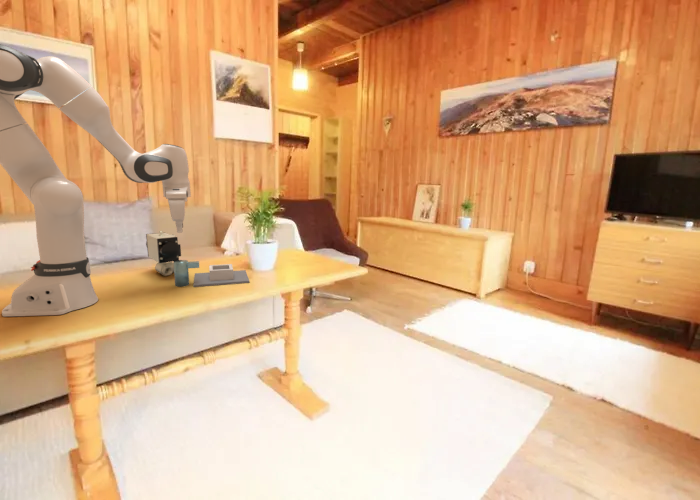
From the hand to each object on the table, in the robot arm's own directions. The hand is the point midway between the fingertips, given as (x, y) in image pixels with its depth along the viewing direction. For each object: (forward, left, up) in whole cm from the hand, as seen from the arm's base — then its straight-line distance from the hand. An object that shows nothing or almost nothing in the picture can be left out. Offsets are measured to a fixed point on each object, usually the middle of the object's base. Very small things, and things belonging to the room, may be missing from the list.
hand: (180, 230), depth 130 cm
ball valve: (-8, +16, -21) cm, 27 cm away
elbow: (+1, -1, -21) cm, 21 cm away
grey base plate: (+13, +3, -21) cm, 25 cm away
